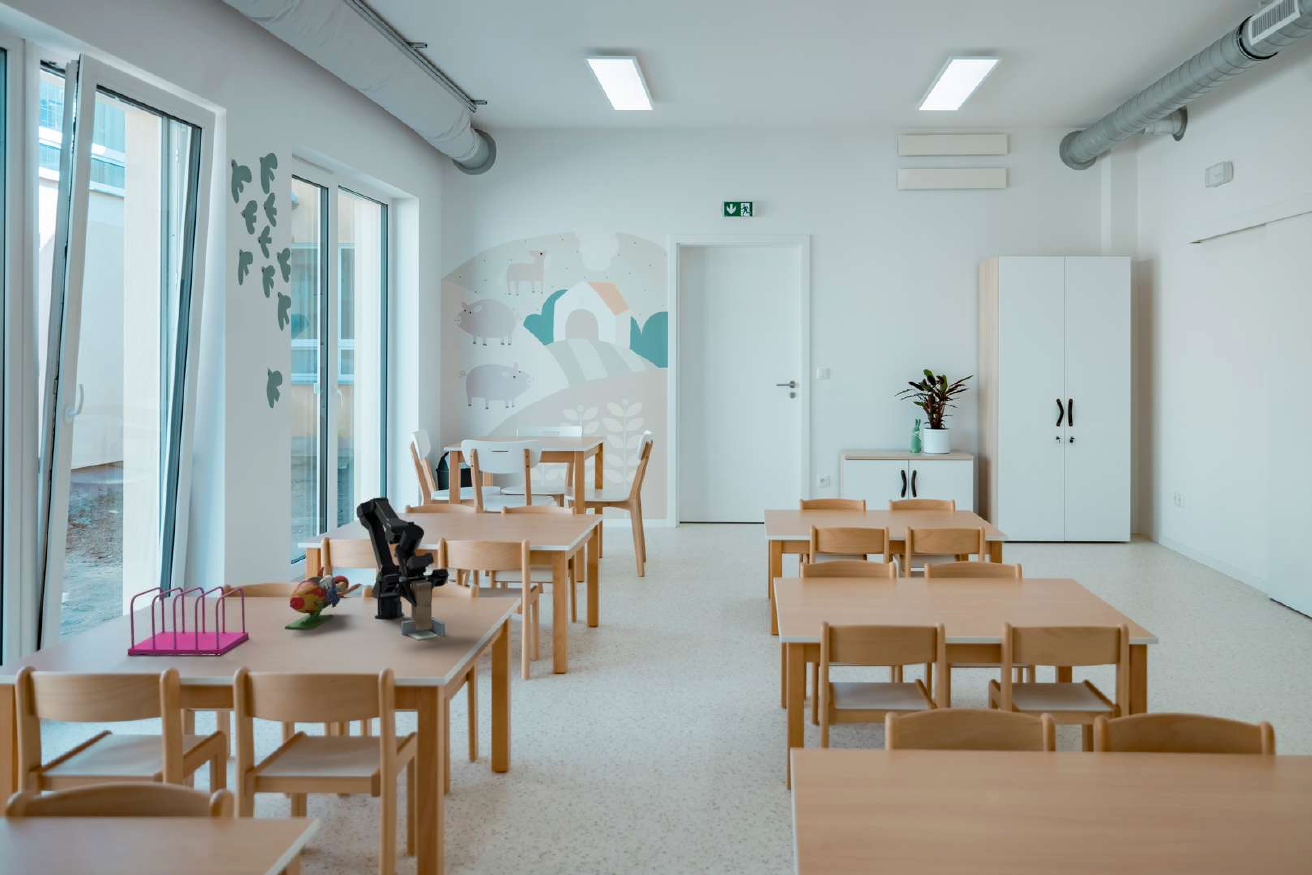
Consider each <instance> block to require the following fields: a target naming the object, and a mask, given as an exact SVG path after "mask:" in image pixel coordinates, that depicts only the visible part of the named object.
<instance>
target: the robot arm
mask: <svg viewBox="0 0 1312 875" xmlns="http://www.w3.org/2000/svg"><path fill="white" fill-rule="evenodd" d="M395 511H396V510H395ZM395 511H394V508H393V507H392V506H391V504H390V501H389V499H388V497H385V496H383V497H380V496H379V497H373V498H371V499H369V500H367V501H364V502H361V503H360V504H359V505H358V506H357V507H356V517H357V519H359V522H360V525H361V526H362V527H364V529H366V530H367V531H368V536H369V537H370V542H371V546H372V549H373V552H374V557H375V562H376V564H377V567H378V572H377V575H376V577H375V583H374V585H373V588H372V597H373V598H374V599H377V614H376V615H374V618H375V619H387V620H394V619H397V618H399V617H401V616H404V615H405V613H404V612H403V602H402V600H401V599H402V598H403V599H405V600H406V601H407V602H409V604H410V605H411V604H412V605H413V606H414V607H416V606H417V604H416V600H415V597H414V595H413V592H412V590H411V582H413V581H421V580H425V581H428V582H430V583H431V604H432V602H433V601H432V600H433V590H434V589H435V588H437V587H443V586H445V584H446V583H447V580H448V578H449V575H450V573H449V570H448V569H446V568H444V567H442V568H435V569H432V572H431V574H425V573H426V572H427V567H429V566H430V565H433V564H434V563H435V559H434V555H433V553H432V552H425V553H424V554H421V555H418V554H417V550H418V549H419V547H420V545H421V544H422V541H423V537H424V536H425V530H424V529H423V528H422V526H420V525H418V524H415V522H414V521H407V520H404V519H402V518H400V517H399V516H398V514H397V513H396V512H395ZM389 545H390V546H392V545H396V546H395V547H394V550H393V551H394V552H393V553H394V554H393V556H394V558H396V559H397V563H398V564H397V565H396V564H395V563H394V559H393V556H392V553H391V549H390V546H389ZM401 597H402V598H401Z"/></svg>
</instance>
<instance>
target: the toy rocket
mask: <svg viewBox="0 0 1312 875" xmlns="http://www.w3.org/2000/svg"><path fill="white" fill-rule="evenodd" d="M324 570H325V567H324V566H321V567H320V568H319V569H318V572H317V576H312V577H310V578H308V579H306V580H304V581H302V582H299V584H298V585H297V586H296V587H295V588H294V590H293V592H292V593H291V595H290V599H289V607H290V608H291V609H293V610H294V611H296V612H298V613H301V614H307V615H304V616H303V617H300V619H297V620H294V621H293V622H291V623H289V624H287V625H285V626H284V629H285V630H306V631H307V630H308V631H311V630H314V629H315V628H317V627H319V626H321V625H322V624H324V623H326V622H328V621H330V620H332V619H333V618H334V614H321V612H323V610H324V609H326V608H327V607H330V606H331V608H335V607H337V605H338V604H339V603H340V601H341V597H342V596H341V595H342V594H343V592H342V590H341V588H340V587H337V586H336V584H335V579H334V576H332V575H330V574H329V575H326V576H325V577H324Z"/></svg>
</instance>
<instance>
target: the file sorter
mask: <svg viewBox="0 0 1312 875" xmlns="http://www.w3.org/2000/svg"><path fill="white" fill-rule="evenodd" d="M219 589H220V590H221V596H219V597H218V599H217V601H216V603H215V631H206V612H205V611H206V609H205V608H206V607H205V606H206V604H205V602H206V601H205V596H206V595H209V594H211V593H213V592H215V591H217V590H219ZM157 590H159V592H160V593H159V594H156V595H155V596H154V597H153V599H152V601H151V633H152V634H151V636H150V637H148V638H146V639H143V641H140V642H138V643H136V644H135V626H134V624H135V622H134V603H135V600H136V598H137V597H139V596H142V595H145V594H148V593H150V592H153V591H157ZM177 590H179V591H180V593H177V594H176V595H175V596H174V599H173V602H172V619H173V620H172V622H173V623H172V628H173V631H166V630H165V629H166V628H165V599H164V598H165V595H168V594H169V593H172V592H175V591H177ZM197 590H200V591H201V594H200V595H198V596H197V597H196V600H195V603H194V631H186V624H185V623H186V622H185V618H186V617H185V595H186V594H188V593H191V592H195V591H197ZM239 591H240V594H241V623H242V626H241V627H242V631H226V613H225V612H226V611H225V610H226V607H225V606H226V604H225V603H226V602H225V600H226V598H227V597H228V596H230V595H232V594H234V593H236V592H239ZM244 594H245V593H244V590H243V589H242V588H241V587H238V588H235V589H233V590H231V591H230V592H228V593H227V592H226V593H225V589H224V586H221V585H220V586H219V585H218V586H217V587H214V588H212V589H210V590H208V591H206V592H205V590H204V587H201V586H197V587H195V588H191V589H188V590H186V591H184V590H183V588H182V587H181V586H178V587H175V588H172V589H169V590H166V591H164V590H163V589H162V587H160V586H155V587H153V588H150V589H148V590H144V591H142V592H139V593H137V594H135V595H133V597H132V598H131V599H130V600H131V601H130V605H129V606H130V607H129V611H130V635H131V636H130V637H131V639H130V640H131V642H130V645H131V647H129V648H127V655H129V656H130V655H131V656H138V655H137V654H215V655H214V656H219V655H218V654H222V655H223V654H224V652H225V653H226V652H228V651H229V650H231V649H232V647H233V648H235V647H236V646H237V645H239V644H241V643H242V642H244V641H245V640H247V639H249V638H250V637H249V631H246V621H245V619H246V618H245V617H246V616H245V595H244ZM159 597H161V599H160V600H161V602H160V603H161V631H160V632H158V633H156V630H155V629H156V628H155V627H156V625H155V624H156V623H155V603H156V600H157V598H159ZM179 597H181V625H182V626H181V630H182V631H177V617H176V616H177V612H176V611H177V610H176V609H177V608H176V605H177V604H176V602H177V600H178V598H179ZM200 600H201V605H202V606H201V610H202V611H201V615H202V620H201V621H202V627H201V628H202V630H201V631H199V629H198V627H199V626H198V621H199V620H198V607H199V601H200ZM221 601H222V602H221ZM220 602H221V605H222V606H221V611H222V612H221V614H222V630H221V631H220V630H219V629H220V628H219V605H220ZM227 650H228V651H227ZM133 654H134V655H133Z"/></svg>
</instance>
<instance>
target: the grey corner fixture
mask: <svg viewBox="0 0 1312 875" xmlns="http://www.w3.org/2000/svg"><path fill="white" fill-rule="evenodd" d="M400 623H401V624H400V626H401V627H400V628H401V629H400V630H401V635H402V636H403V635H404V636H405V635H407V636H409V637H410V638H412V639H414V640H416V641H422V640H427V639H435V638H438V637H439V636H440V637H443V636H446V623H445V622H443V621H441V620H440V619H437V618H436V617H435V616H432V628H431V629H425V630H417V629H415V628H413V627H412V619H411V620H406V621H401V622H400ZM438 635H439V636H438Z"/></svg>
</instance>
